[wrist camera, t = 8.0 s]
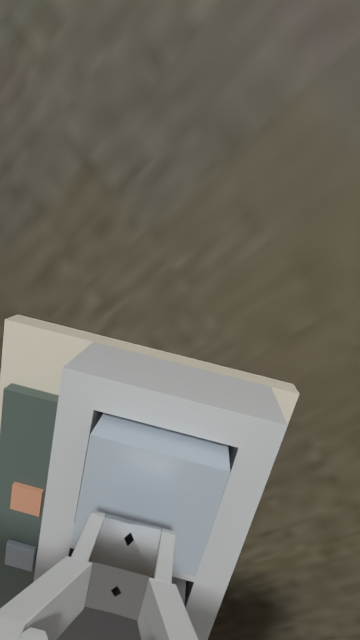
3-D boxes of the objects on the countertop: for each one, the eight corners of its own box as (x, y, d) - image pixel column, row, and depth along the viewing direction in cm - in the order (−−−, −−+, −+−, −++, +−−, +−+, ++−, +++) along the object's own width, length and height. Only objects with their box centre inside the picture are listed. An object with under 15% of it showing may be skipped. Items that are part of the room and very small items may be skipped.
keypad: (293, 383, 15) (323, 434, 11) (186, 676, 20) (181, 777, 17) (18, 314, 15) (-49, 339, 11) (-10, 619, 21) (-59, 704, 17)
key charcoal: (187, 553, 14) (183, 612, 12) (165, 624, 16) (158, 689, 13) (87, 525, 15) (64, 579, 12) (74, 597, 16) (50, 658, 14)
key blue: (226, 430, 13) (230, 471, 10) (198, 521, 14) (195, 577, 12) (111, 400, 13) (89, 434, 10) (93, 493, 14) (71, 542, 12)
